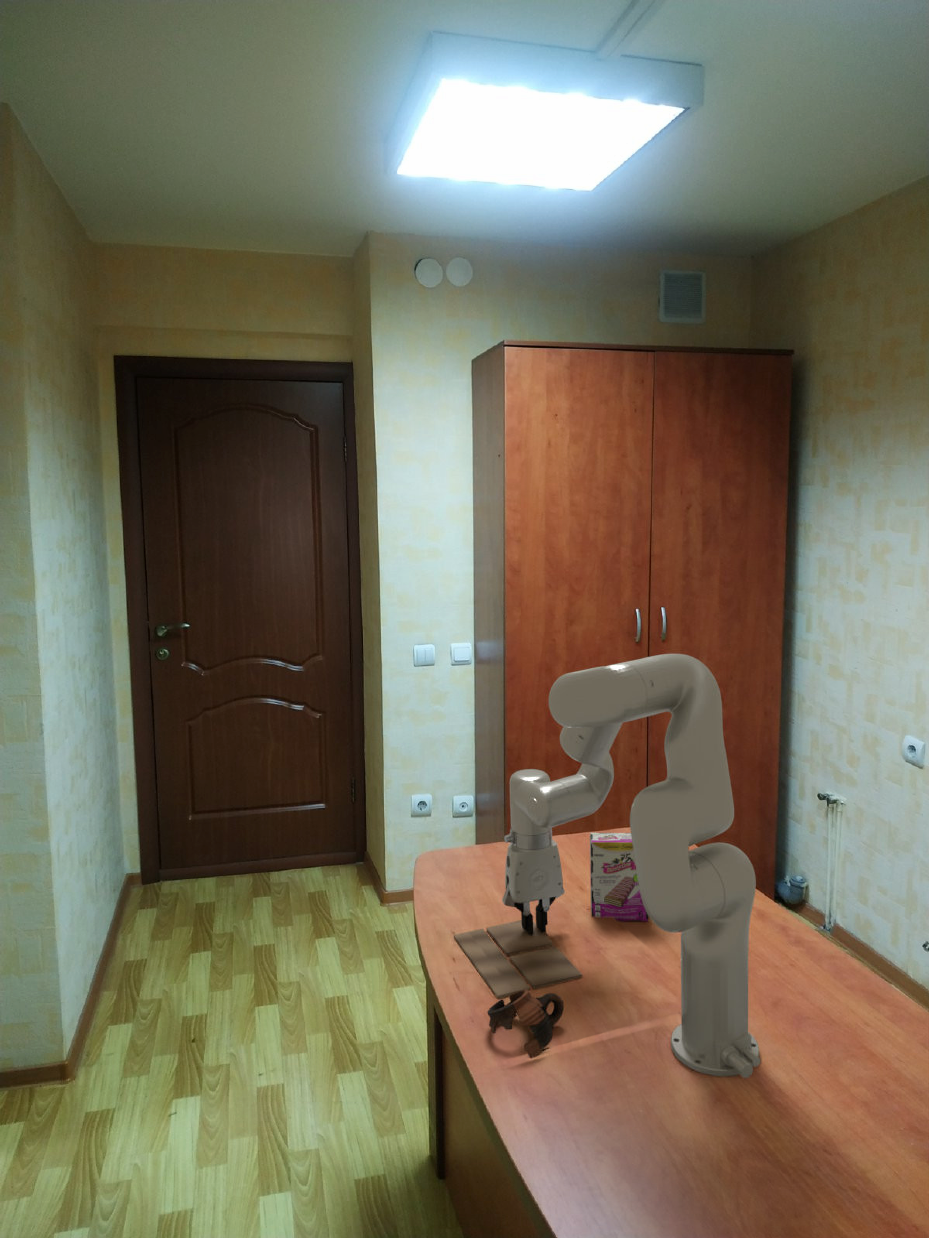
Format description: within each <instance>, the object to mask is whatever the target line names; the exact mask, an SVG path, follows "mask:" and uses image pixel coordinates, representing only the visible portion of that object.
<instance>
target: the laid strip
mask: <svg viewBox="0 0 929 1238" xmlns="http://www.w3.org/2000/svg"><path fill="white" fill-rule="evenodd" d="M453 939H454V940H455V941H456V942H457V944H458V946H459V947H460V948H461V950H462V951H463V953H464V954H465V956H467V958H468V960H469V961H470V962H471V964H472V965H473V966H474V967H475V969H476V970H477V972H478V973H479V975H480V976H481V977H482V979H483V981H484V982H485V983H486V985H487V986H488V988H489V989H490V990H491V992H492V993H493V994H494V995H495V997H496V999H497V1000H499V999H500V1000H501V999H504V998H506V997H509V995H511V994H513V993H515V992H518V991H521V990H524V989H528V990H529V992H530V991H531V986H530V985H528V982H527V981H526V980H525V979H524V977H523V976H522V975H521V974H520V972H519V971H517V970H516V967H515V966H514V965H512V962H511V961H509V959H508V957H507V956H506V955H505V954H504V952H503V951H502V950H501V949H500V947H499V946H497V944H496V942H495V941H494V940H493V939H492V937H491V936H490V935H489V934H488V932H487V931H485V930H484V928H478V929H475V930H471V931H465V932H461V933H456V934H454V935H453Z"/></svg>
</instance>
